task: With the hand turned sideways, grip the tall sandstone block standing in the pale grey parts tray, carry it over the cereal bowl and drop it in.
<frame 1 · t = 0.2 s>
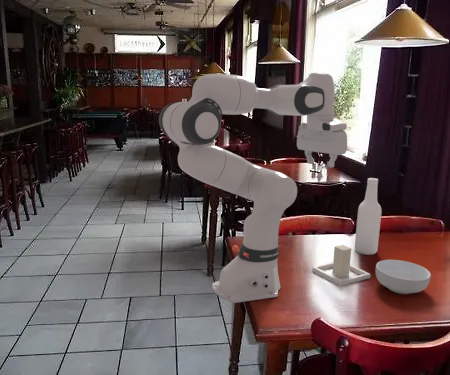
hand: (320, 165, 146), 39 cm above the table, tool pointing down, fingers open, 8 cm apart
alcohol: (365, 251, 177), on the table
cereal bowl: (400, 289, 143), on the table
stone block: (341, 261, 152), in the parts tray
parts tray: (340, 274, 154), on the table
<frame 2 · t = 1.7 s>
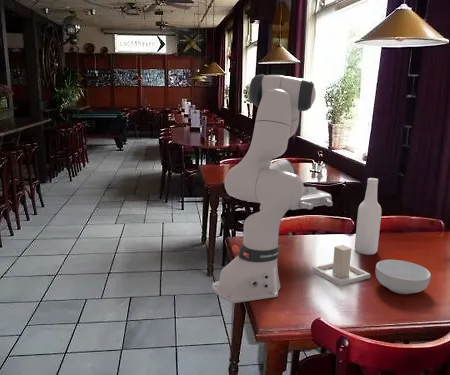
hand: (321, 205, 159), 22 cm above the table, tool horizontal, fingers open, 8 cm apart
nothing on the table moved.
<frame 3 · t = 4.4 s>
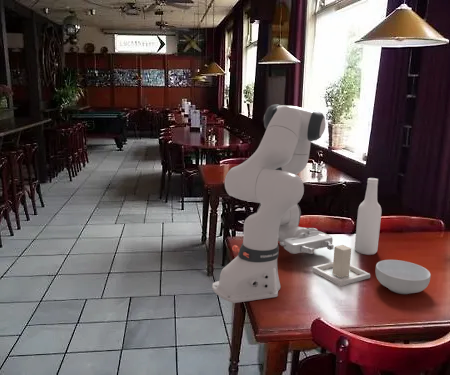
hand: (322, 249, 160), 6 cm above the table, tool horizontal, fingers open, 8 cm apart
nothing on the table moved.
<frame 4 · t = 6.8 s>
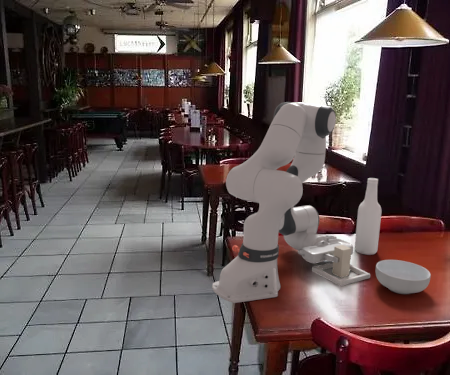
hand: (343, 259, 151), 6 cm above the table, tool horizontal, fingers closed on stone block, 4 cm apart
stone block: (341, 261, 152), in the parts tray, touching gripper
everything else where it was.
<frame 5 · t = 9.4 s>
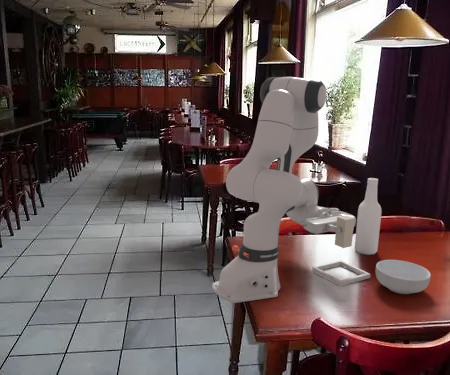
hand: (346, 229, 149), 17 cm above the table, tool horizontal, fingers closed on stone block, 4 cm apart
stone block: (344, 231, 150), point 16 cm above the table, touching gripper
everything else where it was.
when the fingers open (14 cm above the table, at t = 11.9 s): stone block stays where it is, resting on cereal bowl.
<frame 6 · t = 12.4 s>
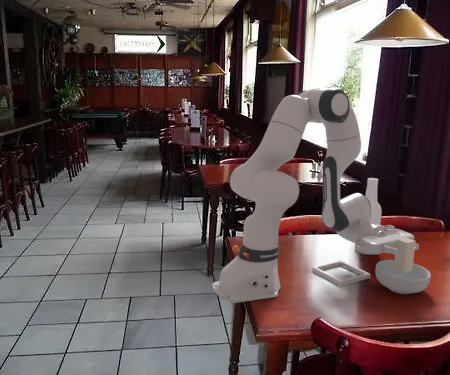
hand: (407, 249, 139), 14 cm above the table, tool horizontal, fingers open, 8 cm apart
cereal bowl: (400, 289, 143), on the table, touching stone block
stone block: (404, 254, 140), point 12 cm above the table, touching cereal bowl
everything else where it was.
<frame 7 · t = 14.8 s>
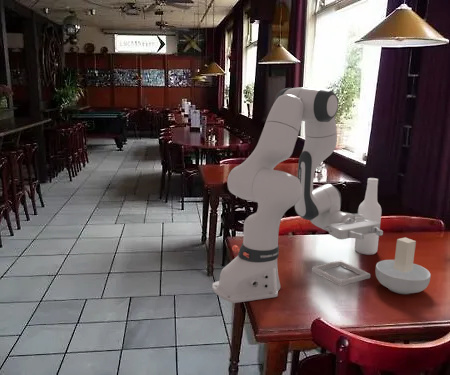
hand: (372, 235, 150), 15 cm above the table, tool horizontal, fingers open, 8 cm apart
nothing on the table moved.
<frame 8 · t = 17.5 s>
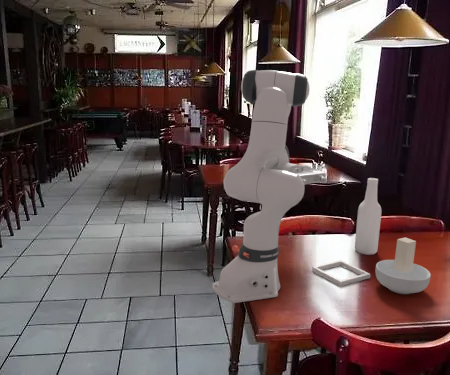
hand: (315, 181, 162), 30 cm above the table, tool horizontal, fingers open, 8 cm apart
nothing on the table moved.
at the end: stone block 0.4 cm from the cereal bowl (horizontally); stone block touching cereal bowl; the gripper is holding nothing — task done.
